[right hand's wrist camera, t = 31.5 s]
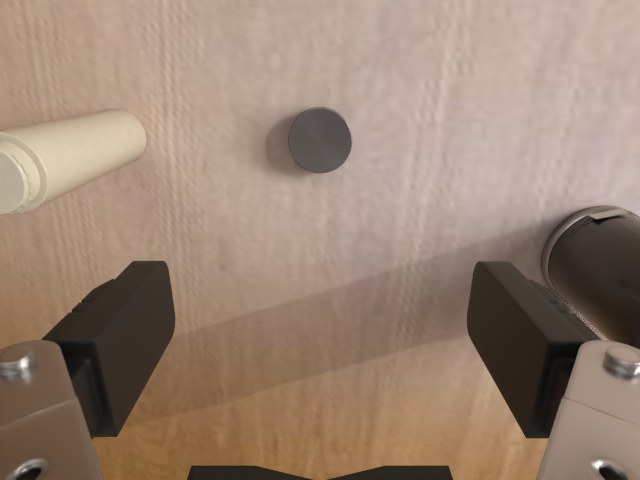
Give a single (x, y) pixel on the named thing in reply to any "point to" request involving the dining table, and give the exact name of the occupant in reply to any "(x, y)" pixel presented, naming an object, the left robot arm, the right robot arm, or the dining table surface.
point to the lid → (320, 140)
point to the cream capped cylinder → (64, 156)
